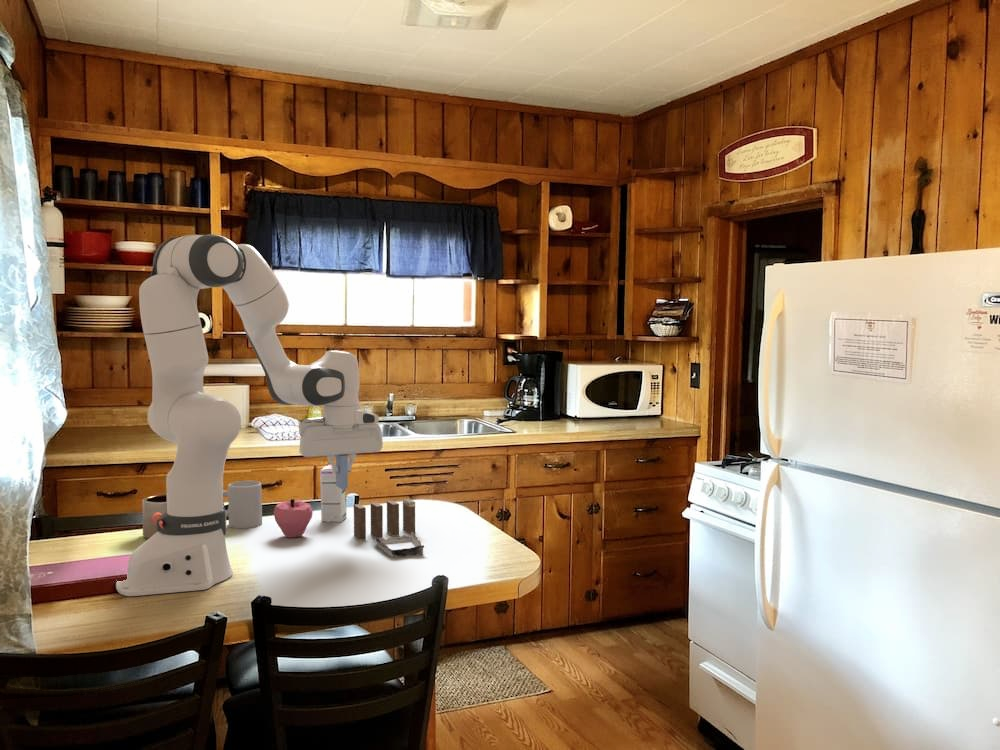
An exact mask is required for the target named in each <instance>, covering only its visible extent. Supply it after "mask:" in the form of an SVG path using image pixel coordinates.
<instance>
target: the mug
mask: <svg viewBox="0 0 1000 750" xmlns="http://www.w3.org/2000/svg"><path fill="white" fill-rule="evenodd" d="M262 493H263V492H262V483H261V482H260V481H259V480H241V481H240V480H239V481H238V480H237V481H234V482H233V481H232V482H230V483H228V487H227V489H226V490H223V498H224V497H225V498H227V500H228V501H227V503H228V506H227V507H228V508H227V509H225V513H226V518H228V526H229V527H230V528H232V527H234V528H233V529H250V527H252V528H255V526H256V527H259V526H260V525H262V524H263V499H262V498H263V497H262V495H263V494H262Z"/></svg>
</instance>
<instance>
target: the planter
mask: <svg viewBox="0 0 1000 750" xmlns="http://www.w3.org/2000/svg"><path fill="white" fill-rule="evenodd" d="M166 512H167V493H163V494H162V493H161V494H155V495H149V496H147V497H144V498H142V536H143V537H144V538H145V539H147V540H148V539H149V538H150V537H152V536H153V535H154V534H155V533H156V532H158V531H157V523H155V522H154V521H153V518H152V517H153V515H154V514H155V513H161V514H162V515H163V514H164V513H166Z"/></svg>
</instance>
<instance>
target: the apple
mask: <svg viewBox="0 0 1000 750" xmlns="http://www.w3.org/2000/svg"><path fill="white" fill-rule="evenodd" d="M273 516H274V520H275V522H276V524H277V526H278V527H279V528H280V530H281V532H282V534H283V535H284V536H285V537H288V538H299V537H302V536H303V535H304V534H305V531H306V529H307V527H308V525H309V523H310V522H311V520H312V517H313V508H312V505H311V503H307V502H304V501H303V500H297V499H293V498H291V499H290V500H287V501H282V502H279V503H277V504H276V505H275V507H274V509H273Z"/></svg>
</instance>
